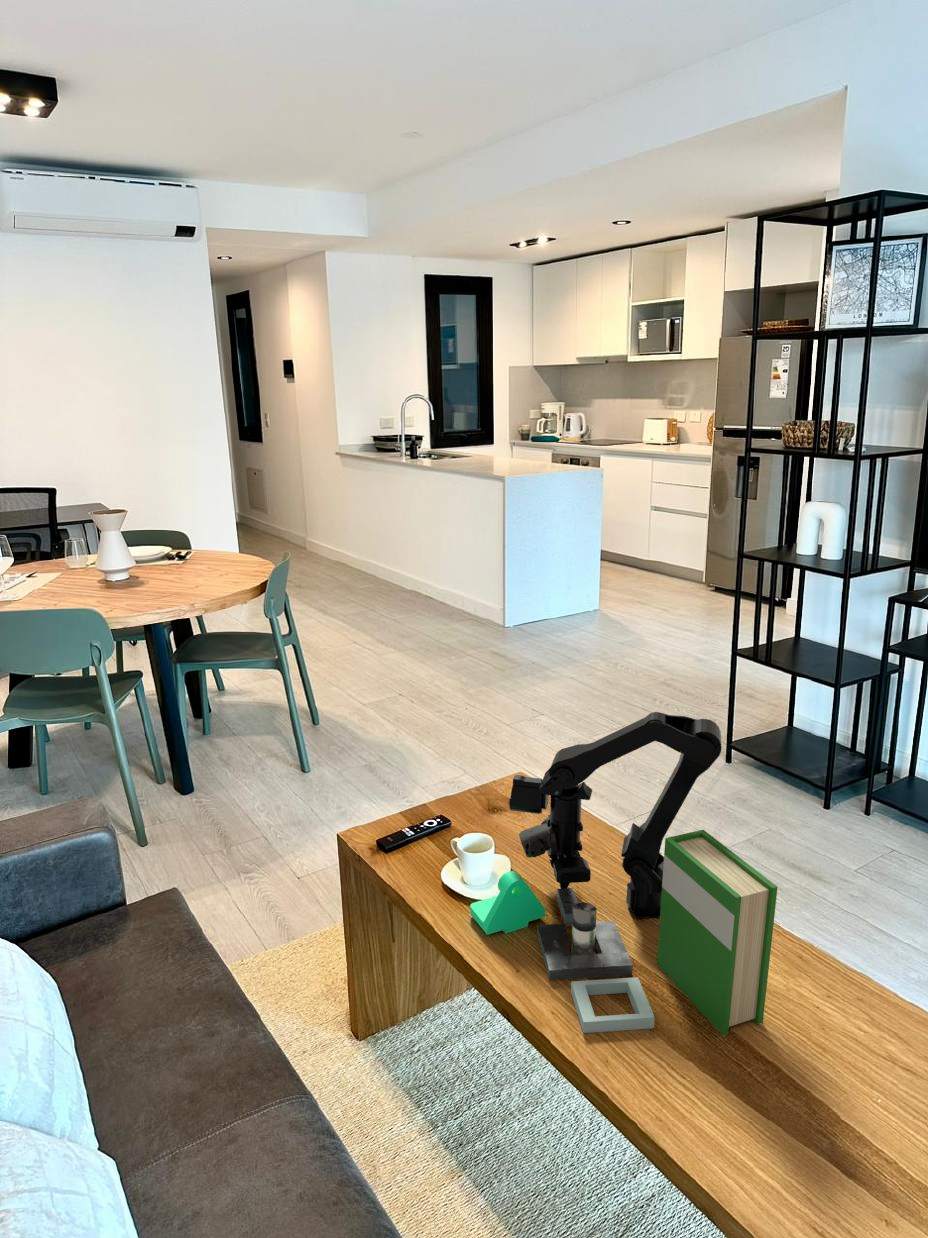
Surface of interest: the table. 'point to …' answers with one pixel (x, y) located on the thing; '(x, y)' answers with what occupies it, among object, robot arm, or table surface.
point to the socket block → (603, 964)
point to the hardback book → (715, 929)
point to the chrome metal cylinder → (583, 929)
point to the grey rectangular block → (566, 904)
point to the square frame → (613, 1022)
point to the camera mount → (508, 906)
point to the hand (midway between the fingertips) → (563, 888)
